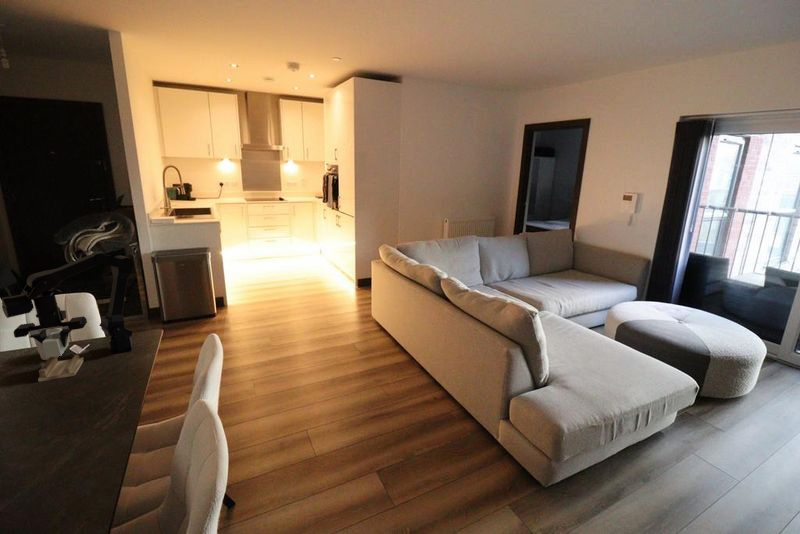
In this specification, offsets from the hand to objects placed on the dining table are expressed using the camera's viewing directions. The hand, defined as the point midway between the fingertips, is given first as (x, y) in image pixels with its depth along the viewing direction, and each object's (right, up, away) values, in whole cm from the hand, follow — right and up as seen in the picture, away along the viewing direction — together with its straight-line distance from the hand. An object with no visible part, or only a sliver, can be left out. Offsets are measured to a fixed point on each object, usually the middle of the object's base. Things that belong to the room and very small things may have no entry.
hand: (57, 347), depth 136 cm
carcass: (0, -9, +2) cm, 9 cm away
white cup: (-13, -6, +12) cm, 19 cm away
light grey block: (0, -1, 0) cm, 1 cm away
